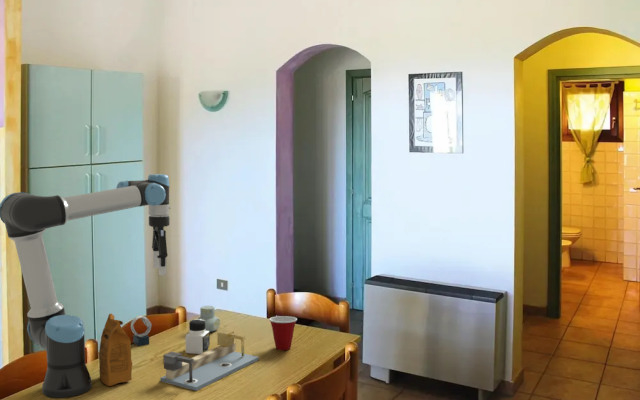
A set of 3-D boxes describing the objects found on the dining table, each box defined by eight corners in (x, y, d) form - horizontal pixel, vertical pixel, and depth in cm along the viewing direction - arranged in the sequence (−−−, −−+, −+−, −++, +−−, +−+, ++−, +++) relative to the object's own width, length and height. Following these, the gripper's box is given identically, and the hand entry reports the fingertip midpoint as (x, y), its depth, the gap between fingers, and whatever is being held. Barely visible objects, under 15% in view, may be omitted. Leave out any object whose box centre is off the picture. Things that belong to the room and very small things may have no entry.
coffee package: (125, 371, 237) (123, 310, 235) (135, 382, 226) (133, 319, 224) (96, 376, 232) (94, 314, 230) (104, 388, 221) (102, 323, 219)
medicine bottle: (203, 354, 254) (202, 323, 253) (185, 353, 256) (184, 322, 254) (210, 348, 261) (209, 318, 260) (192, 347, 263) (192, 317, 261)
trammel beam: (188, 383, 223) (187, 360, 222) (164, 377, 228) (163, 354, 227) (250, 354, 251) (250, 333, 251) (227, 348, 257) (227, 329, 256)
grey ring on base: (154, 343, 267) (153, 316, 266) (134, 347, 263) (133, 319, 261) (148, 339, 272) (147, 313, 271) (129, 343, 267) (128, 316, 266)
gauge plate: (196, 390, 220) (196, 387, 219) (160, 381, 228) (160, 377, 228) (258, 360, 248) (258, 356, 248) (224, 352, 257) (224, 349, 257)
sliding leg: (240, 357, 246) (240, 337, 245) (217, 352, 252) (217, 332, 251) (247, 354, 250) (247, 334, 249) (224, 349, 255) (224, 329, 254)
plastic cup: (298, 343, 267) (298, 314, 265) (295, 353, 256) (295, 322, 255) (271, 343, 268) (271, 313, 267) (267, 352, 257) (266, 321, 256)
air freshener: (212, 335, 278) (211, 311, 277) (193, 333, 280) (192, 310, 279) (221, 327, 289) (221, 304, 288) (203, 326, 291) (203, 303, 290)
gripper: (175, 219, 242) (175, 277, 244) (163, 211, 265) (164, 264, 267) (153, 220, 239) (154, 278, 241) (144, 212, 262) (144, 265, 264)
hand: (159, 271), depth 254 cm, fingers open, 13 cm apart
